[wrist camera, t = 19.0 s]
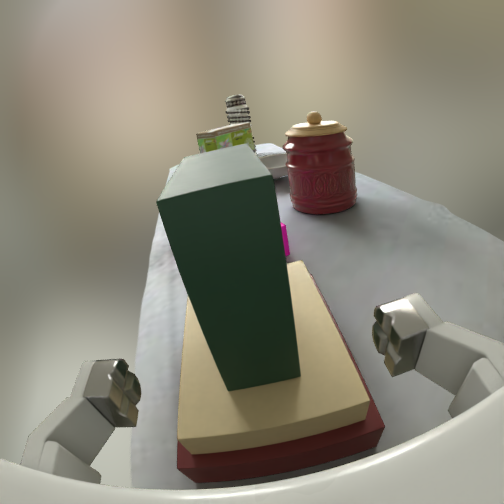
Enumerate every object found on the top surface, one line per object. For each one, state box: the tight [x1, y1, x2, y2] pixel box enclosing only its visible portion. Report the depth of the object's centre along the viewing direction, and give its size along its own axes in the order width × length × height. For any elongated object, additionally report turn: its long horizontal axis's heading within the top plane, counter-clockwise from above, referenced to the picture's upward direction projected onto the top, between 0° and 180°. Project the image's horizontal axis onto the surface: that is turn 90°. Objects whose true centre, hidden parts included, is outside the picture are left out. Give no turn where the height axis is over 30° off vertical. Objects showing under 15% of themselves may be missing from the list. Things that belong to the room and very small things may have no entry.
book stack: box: [177, 260, 385, 483], centre depth 22 cm, size 18×13×6 cm
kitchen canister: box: [282, 111, 357, 214], centre depth 51 cm, size 13×13×18 cm
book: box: [157, 144, 301, 391], centre depth 18 cm, size 10×5×12 cm, turn 6°
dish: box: [258, 154, 288, 179], centre depth 74 cm, size 18×14×5 cm
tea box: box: [196, 123, 255, 153], centre depth 90 cm, size 15×10×15 cm
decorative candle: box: [226, 94, 257, 154], centre depth 107 cm, size 9×9×25 cm
